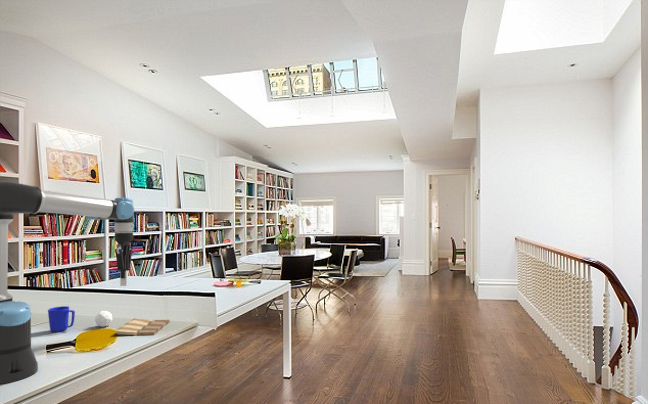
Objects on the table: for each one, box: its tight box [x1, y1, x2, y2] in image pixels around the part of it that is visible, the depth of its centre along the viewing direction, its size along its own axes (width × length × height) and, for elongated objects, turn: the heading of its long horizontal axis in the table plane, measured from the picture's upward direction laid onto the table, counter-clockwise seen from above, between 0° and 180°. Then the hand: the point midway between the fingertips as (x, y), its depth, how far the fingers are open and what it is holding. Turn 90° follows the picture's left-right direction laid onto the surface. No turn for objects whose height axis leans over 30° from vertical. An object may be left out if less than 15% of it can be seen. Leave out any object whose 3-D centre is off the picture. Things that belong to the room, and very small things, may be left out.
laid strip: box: [136, 319, 171, 336], centre depth 193 cm, size 20×8×1 cm, turn 1°
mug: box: [47, 305, 76, 333], centre depth 194 cm, size 8×12×10 cm
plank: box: [114, 318, 154, 336], centre depth 193 cm, size 20×9×1 cm, turn 1°
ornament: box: [94, 310, 113, 328], centre depth 199 cm, size 7×7×8 cm
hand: (124, 285), depth 191 cm, fingers closed
